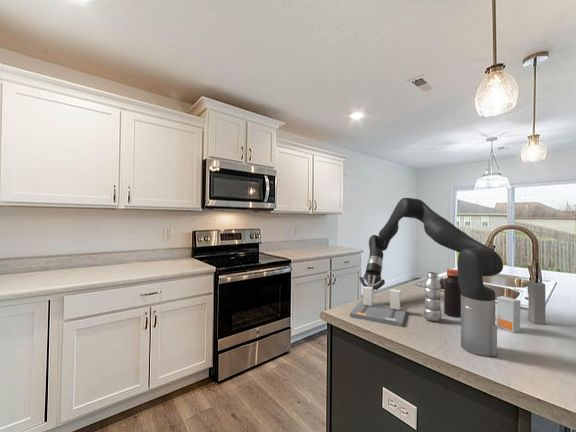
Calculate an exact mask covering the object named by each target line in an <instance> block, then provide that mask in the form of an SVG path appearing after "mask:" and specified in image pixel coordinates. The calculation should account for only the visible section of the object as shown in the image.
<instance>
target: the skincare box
mask: <svg viewBox="0 0 576 432" xmlns="http://www.w3.org/2000/svg"><path fill="white" fill-rule="evenodd" d="M496 297H497V298H496V326H497V328H500V329H503V330H506V331H508V332H511V333H513V334H514V333H518V332H520V331H521V300H520V299H516V298H514V297H513V298H512V297H508V296H504V295H501V296H496Z"/></svg>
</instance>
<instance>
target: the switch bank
mask: <svg viewBox="0 0 576 432" xmlns="http://www.w3.org/2000/svg"><path fill="white" fill-rule="evenodd" d="M407 310H408V309H407V307H401V306H400V310H397V309H391V308H390V304H389V305H388V304H382V303H376V302H373V305H372V306H369V305H363V300H360V301H359V303H358V304H356V306H355V307H354V308H353V309H352V310H351V312H350V313H349V318H354V319H359V320H365V321H369V322H376V323H380V324H386V325H391V326H395V327H396V326H397V327H401V328H402V327H403V326H404V322H405V318H406V315H407V312H408V311H407Z"/></svg>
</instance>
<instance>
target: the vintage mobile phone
mask: <svg viewBox="0 0 576 432" xmlns="http://www.w3.org/2000/svg"><path fill="white" fill-rule="evenodd" d="M526 286H527V287H526V289H527V295H528V299H527V300H528V303H527V304H528V314H527V316H526V320H528V321H529V322H531V323H533V324H535V325H544V326H545V325H546V284H545V283H543V282H541V281H539V263H538V262H535V280H527V281H526Z"/></svg>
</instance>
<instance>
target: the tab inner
mask: <svg viewBox="0 0 576 432" xmlns="http://www.w3.org/2000/svg"><path fill="white" fill-rule="evenodd" d="M389 302H390V303H389V305H390V308H391V309H397V310H400V307H401V290H399V289H391V288H390V290H389Z"/></svg>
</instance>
